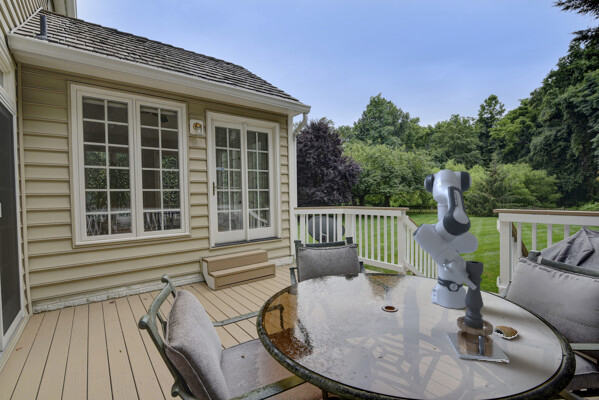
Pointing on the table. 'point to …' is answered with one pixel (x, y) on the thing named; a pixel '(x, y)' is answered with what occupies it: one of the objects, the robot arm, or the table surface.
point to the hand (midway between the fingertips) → (476, 286)
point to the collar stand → (475, 342)
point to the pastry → (505, 331)
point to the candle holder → (474, 296)
